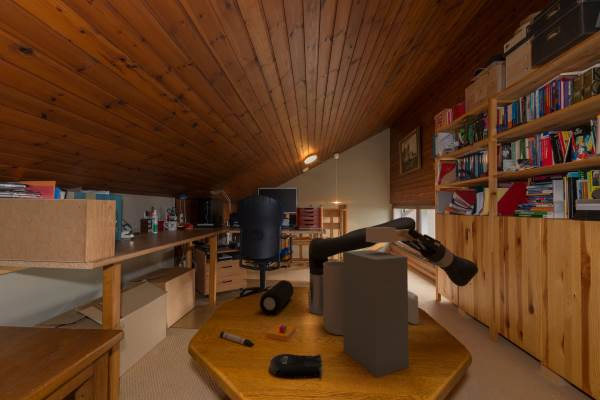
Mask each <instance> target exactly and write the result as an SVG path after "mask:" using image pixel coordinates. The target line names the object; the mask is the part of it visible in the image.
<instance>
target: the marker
mask: <svg viewBox="0 0 600 400" xmlns="http://www.w3.org/2000/svg"><path fill="white" fill-rule="evenodd" d="M219 337H220V338H223V339H225V340H228V341H231V342H234V343H237V344H240V345H242V346H247V347H254V346H255V344H254V342H253V341H251V340H250V339H247V338H244V337H242V336H238V335H237V334H236V335H235V334H232V333H229V332H226V331H220V333H219Z"/></svg>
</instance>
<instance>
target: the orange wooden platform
mask: <svg viewBox="0 0 600 400" xmlns="http://www.w3.org/2000/svg"><path fill="white" fill-rule="evenodd" d="M295 334H296V327H295V326H289V325H285V324H278V323H277V324H275V325H274V326H273V327H272V328H271V329H269V330H268V331H267V332H266V339H271V340H275V341H276V340H277V341H282V342H289V340H290V339H291V338H292V337H293V335H295Z"/></svg>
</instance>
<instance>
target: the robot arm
mask: <svg viewBox="0 0 600 400" xmlns="http://www.w3.org/2000/svg"><path fill="white" fill-rule="evenodd" d="M370 227H392V228H396V230H406V229H409V231H408V234H409V235H410V236H412V237H413V238H414V239H416V240H412V241H399V242H400V243H402V244H404V245H405V246H407V247H410V248H411V249H413V250H415V251H417V252H419V254H420V255H421V256H422V257H423V258H424V259H426V260H427V261H428V262H431V264H433V265H435V266H436V267H438V268H440V269H441V270H442V271H444V272H445V274H446V275H447V277H448V279H449V280H450V281H451V282H452V283H453V284H454V285H456V286H457V287H466V286H467V285H468V284H469V283H470V282H471V281H472V279H473V278H474V277H475V276H476V275H477V274H478V272H479V268H478V266H477V264H476V263H475V262H474V261H472V260H469V259H466V258H465V257H461V256H458V255H456V254H454V253H453V252H452V251H451V250H450V249H449V248H448V247H446V246H445V245H444V244H443V243H441V241H440V240H438V239H436V238H434V237H432V236H430V235H428V234H425V233H424V234H422V233H421V232H419V231H418V232H416V231H415V230H416V227H417V225H416V220H415V219H414V218H412V217H409V216H401V217H398V218H394V219H391V220H389V221H386V222H383V223H379V224H375V225H372V226H370ZM377 244H378V243H373V242H366V227H362V228H358V229H354V230H351V231H349V232H347V233H344V234H342V235H340V236H336V237H331V238H322V237H315V238H313V239H312V240H311V241H310V242H309V245H308V266H309V268H308V269H309V290H308V292H307V293H308V295H307V296H308V297H307V298H308V300H307V302H308V303H307V304H308V306H307V307H308V308H307V310H308V311H307V312H308V313H311V314H314V315H318V316H319V315H320V316H321V315H322V316H323V263H325V262H329V258H330V257H333V256H336V255H339V254H341V253H342V254H343V252H350V251H360V250H362V249H367V248H371V247H374V246H376V245H377Z"/></svg>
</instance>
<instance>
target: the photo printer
mask: <svg viewBox="0 0 600 400" xmlns="http://www.w3.org/2000/svg"><path fill="white" fill-rule="evenodd" d="M419 316H420V315H419V297H418V295H417V294H416V293H414V292H412V291H409V290H408V324H413V325H418V324H419V319H420V318H419Z"/></svg>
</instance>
